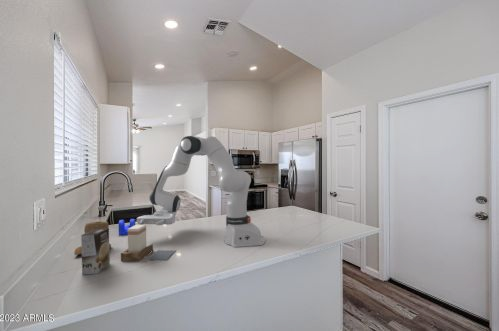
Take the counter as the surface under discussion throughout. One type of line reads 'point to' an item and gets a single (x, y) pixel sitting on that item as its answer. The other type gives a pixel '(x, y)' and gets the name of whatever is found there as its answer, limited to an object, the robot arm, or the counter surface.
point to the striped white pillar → (137, 238)
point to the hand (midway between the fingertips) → (149, 223)
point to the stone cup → (90, 227)
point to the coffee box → (95, 251)
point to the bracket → (125, 227)
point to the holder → (136, 254)
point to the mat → (162, 255)
